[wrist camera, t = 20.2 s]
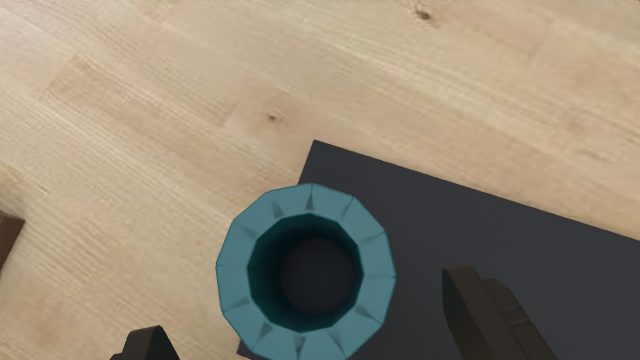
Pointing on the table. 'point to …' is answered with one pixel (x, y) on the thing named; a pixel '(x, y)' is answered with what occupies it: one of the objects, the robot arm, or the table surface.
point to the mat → (468, 247)
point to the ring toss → (8, 233)
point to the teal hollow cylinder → (266, 260)
